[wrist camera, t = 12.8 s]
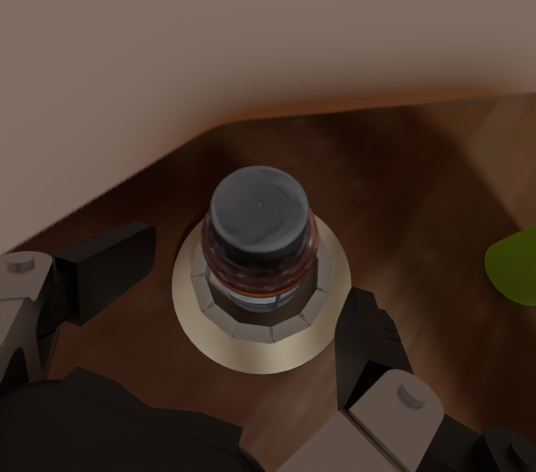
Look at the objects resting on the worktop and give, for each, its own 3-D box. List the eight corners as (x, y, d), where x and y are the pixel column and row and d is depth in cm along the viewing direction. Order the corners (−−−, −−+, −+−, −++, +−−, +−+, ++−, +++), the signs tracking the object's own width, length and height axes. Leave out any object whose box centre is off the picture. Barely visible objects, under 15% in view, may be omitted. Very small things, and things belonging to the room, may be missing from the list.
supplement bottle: (245, 229, 22) (233, 125, 12) (310, 260, 22) (357, 176, 11) (207, 292, 20) (153, 231, 10) (277, 330, 19) (298, 306, 9)
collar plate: (345, 215, 25) (358, 195, 22) (345, 384, 19) (361, 391, 16) (198, 198, 25) (189, 175, 22) (156, 359, 20) (136, 360, 17)
